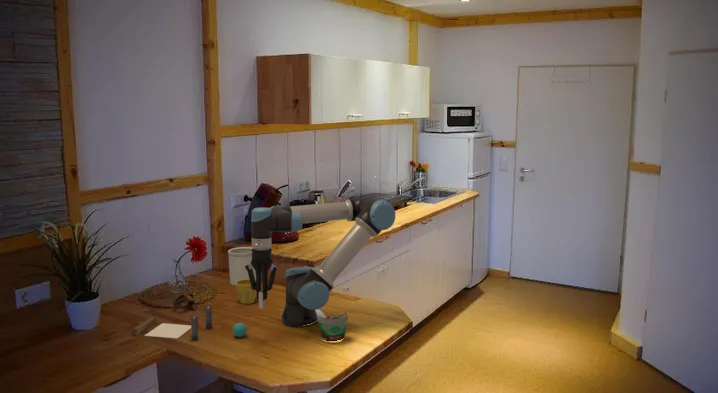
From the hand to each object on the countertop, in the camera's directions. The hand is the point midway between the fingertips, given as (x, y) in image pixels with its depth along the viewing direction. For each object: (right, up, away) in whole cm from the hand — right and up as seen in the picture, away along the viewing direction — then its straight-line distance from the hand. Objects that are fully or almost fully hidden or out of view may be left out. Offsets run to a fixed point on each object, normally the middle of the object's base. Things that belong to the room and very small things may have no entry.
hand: (261, 307), depth 228 cm
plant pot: (-14, -6, +47) cm, 49 cm away
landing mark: (-39, -11, +9) cm, 41 cm away
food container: (+29, -13, 0) cm, 32 cm away
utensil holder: (-23, -2, +78) cm, 82 cm away
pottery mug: (-40, -8, +36) cm, 54 cm away
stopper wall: (-50, -11, +11) cm, 52 cm away
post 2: (-24, -11, +12) cm, 29 cm away
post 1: (-26, -12, 0) cm, 29 cm away
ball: (-9, -9, +3) cm, 14 cm away
